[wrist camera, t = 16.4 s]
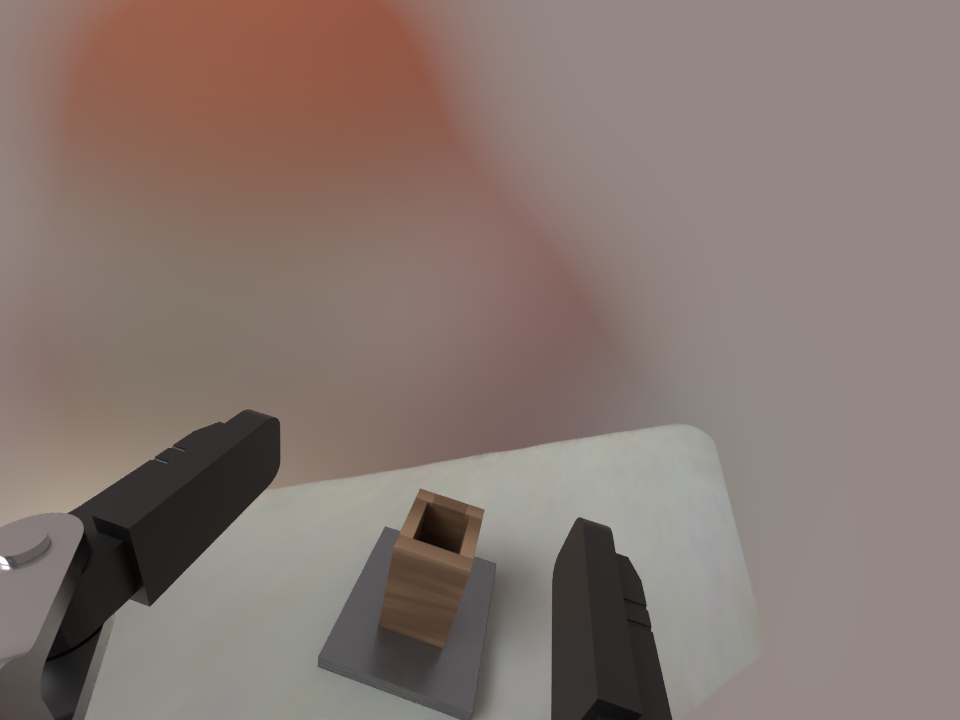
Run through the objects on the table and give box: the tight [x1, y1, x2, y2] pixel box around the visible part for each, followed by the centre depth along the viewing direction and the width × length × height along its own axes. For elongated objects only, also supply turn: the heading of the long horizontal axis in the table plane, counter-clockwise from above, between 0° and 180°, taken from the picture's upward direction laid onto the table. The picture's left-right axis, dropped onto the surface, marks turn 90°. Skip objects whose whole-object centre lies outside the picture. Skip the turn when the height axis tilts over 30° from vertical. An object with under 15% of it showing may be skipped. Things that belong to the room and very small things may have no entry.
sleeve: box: [378, 489, 484, 648], centre depth 30 cm, size 6×6×10 cm
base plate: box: [318, 526, 496, 720], centre depth 32 cm, size 12×12×6 cm
